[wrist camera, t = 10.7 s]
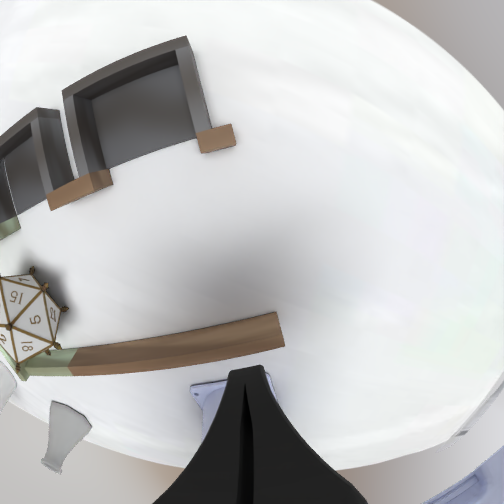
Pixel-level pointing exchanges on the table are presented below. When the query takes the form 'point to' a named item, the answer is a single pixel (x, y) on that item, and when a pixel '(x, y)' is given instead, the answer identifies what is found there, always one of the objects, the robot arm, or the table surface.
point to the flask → (63, 434)
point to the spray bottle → (5, 385)
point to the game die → (27, 318)
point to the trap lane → (98, 177)
